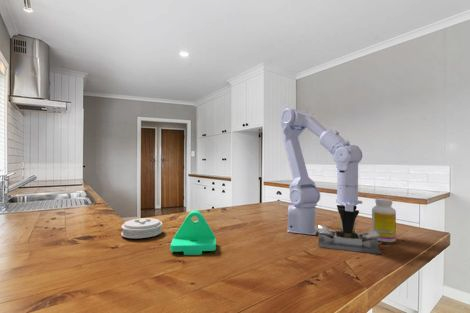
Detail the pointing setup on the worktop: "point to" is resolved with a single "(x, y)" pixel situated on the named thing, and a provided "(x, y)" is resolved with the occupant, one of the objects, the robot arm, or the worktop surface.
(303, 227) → the robot arm
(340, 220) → the coupling
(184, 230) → the camera mount
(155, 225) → the lid
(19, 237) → the worktop surface
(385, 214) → the supplement bottle
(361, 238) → the shaft stand
